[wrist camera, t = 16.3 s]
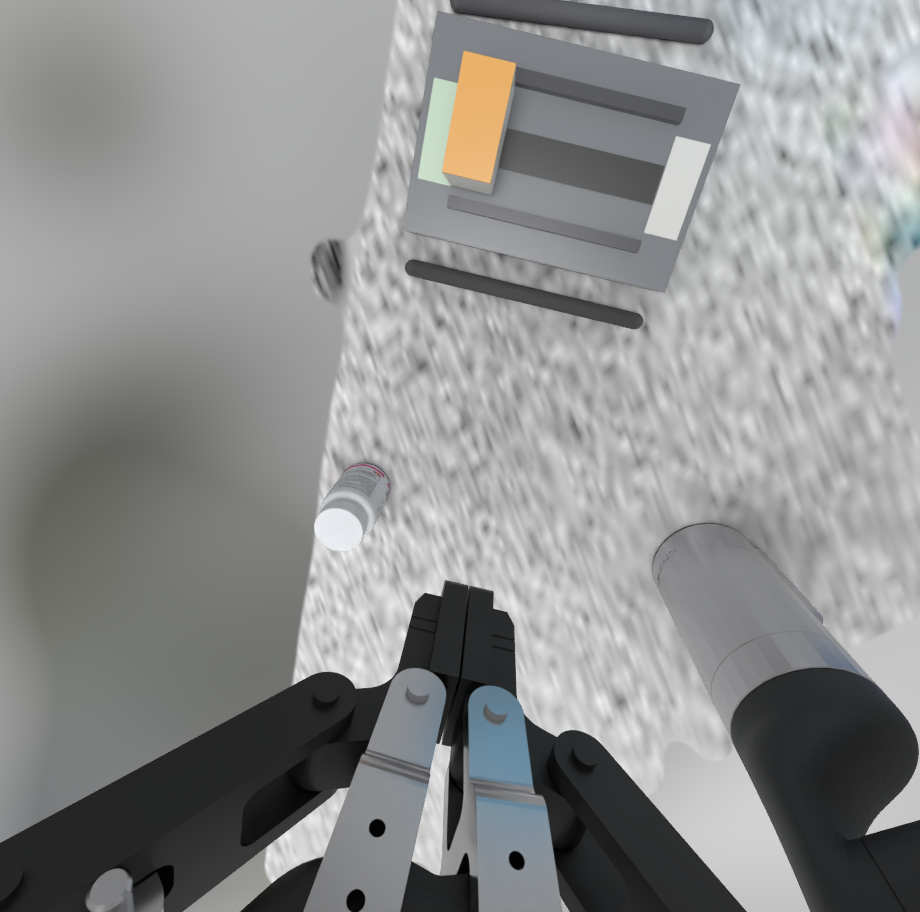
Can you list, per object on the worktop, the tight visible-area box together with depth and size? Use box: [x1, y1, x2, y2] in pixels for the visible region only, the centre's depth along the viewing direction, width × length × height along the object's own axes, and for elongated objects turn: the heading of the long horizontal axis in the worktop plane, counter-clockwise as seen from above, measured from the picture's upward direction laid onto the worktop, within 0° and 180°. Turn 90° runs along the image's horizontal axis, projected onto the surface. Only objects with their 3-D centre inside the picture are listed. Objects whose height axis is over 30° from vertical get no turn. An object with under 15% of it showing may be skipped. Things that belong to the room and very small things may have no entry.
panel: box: [403, 11, 740, 293], centre depth 34 cm, size 20×13×3 cm, turn 78°
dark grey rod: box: [405, 260, 643, 329], centre depth 38 cm, size 19×1×1 cm, turn 78°
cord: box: [450, 0, 714, 44], centre depth 31 cm, size 17×1×1 cm, turn 83°
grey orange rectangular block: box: [442, 51, 516, 195], centre depth 30 cm, size 3×6×5 cm, turn 167°
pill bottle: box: [314, 463, 390, 551], centre depth 42 cm, size 5×5×8 cm
